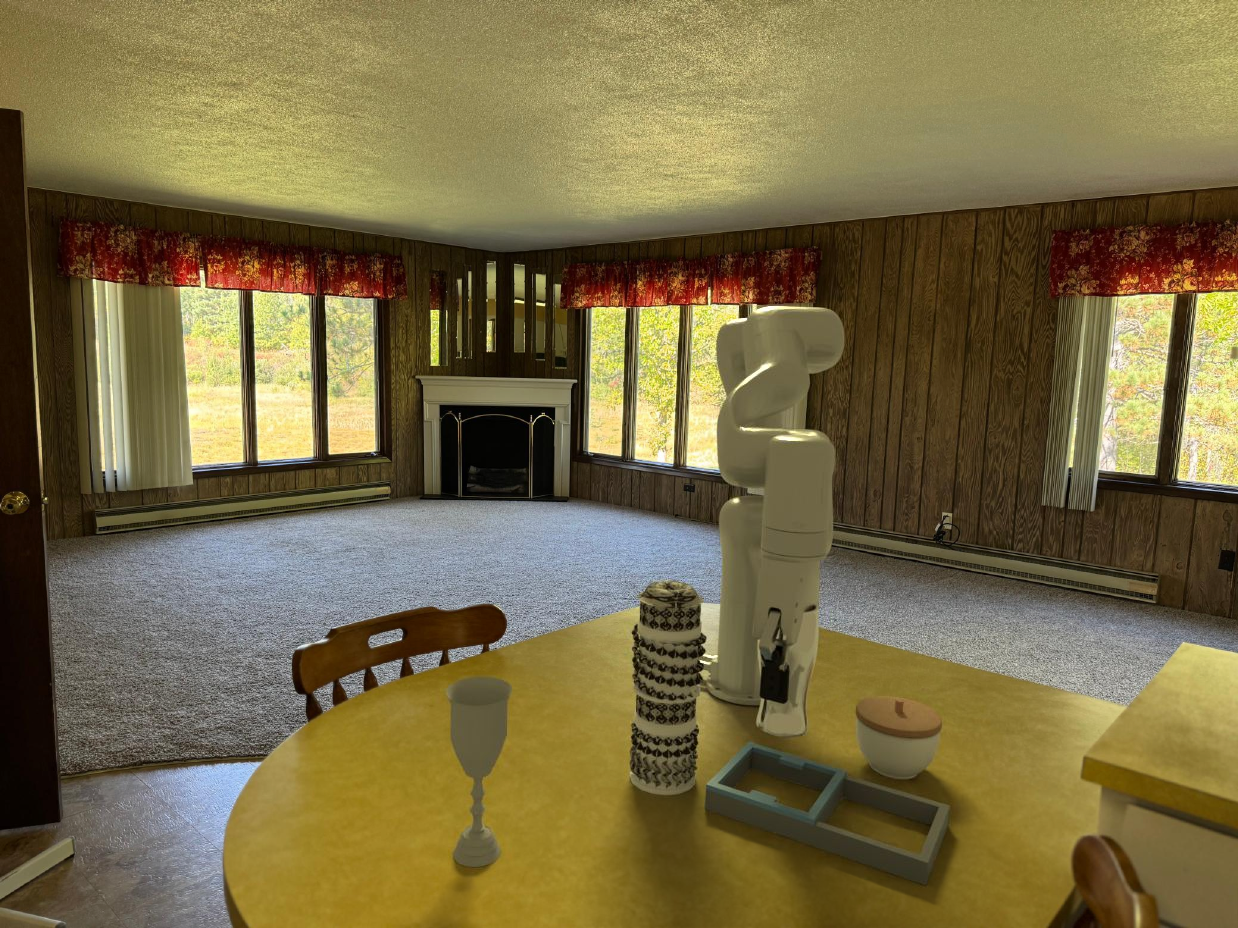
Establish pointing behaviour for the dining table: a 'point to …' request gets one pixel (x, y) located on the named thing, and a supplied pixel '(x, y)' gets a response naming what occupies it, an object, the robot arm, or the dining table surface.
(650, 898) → the dining table surface
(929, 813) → the slot frame
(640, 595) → the decorative candle
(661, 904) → the dining table surface
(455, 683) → the chalice
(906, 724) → the lidded jar
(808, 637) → the beer glass
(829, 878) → the dining table surface
